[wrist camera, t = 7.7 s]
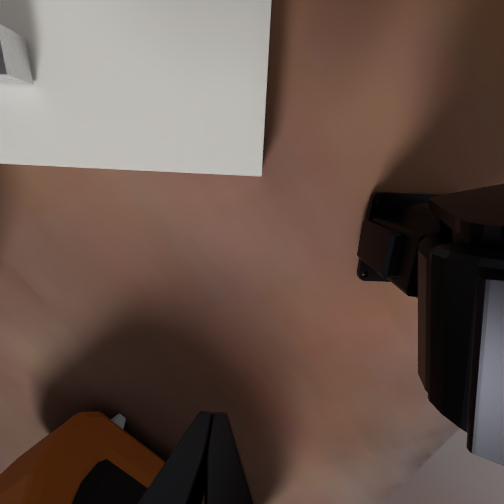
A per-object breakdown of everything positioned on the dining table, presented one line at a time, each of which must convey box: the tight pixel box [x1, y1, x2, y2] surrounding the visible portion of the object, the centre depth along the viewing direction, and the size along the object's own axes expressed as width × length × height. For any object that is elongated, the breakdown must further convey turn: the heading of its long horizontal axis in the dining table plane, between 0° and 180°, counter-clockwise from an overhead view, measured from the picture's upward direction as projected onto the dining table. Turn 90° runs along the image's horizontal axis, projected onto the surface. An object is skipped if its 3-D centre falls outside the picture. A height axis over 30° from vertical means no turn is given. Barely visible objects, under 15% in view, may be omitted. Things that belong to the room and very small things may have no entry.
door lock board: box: [0, 0, 271, 176], centre depth 14 cm, size 24×10×6 cm, turn 87°
